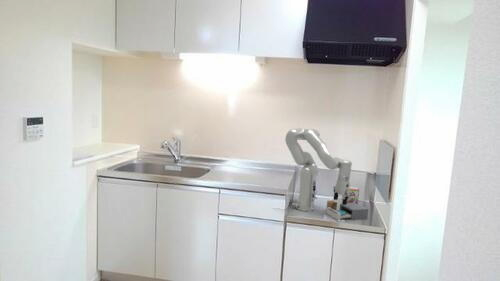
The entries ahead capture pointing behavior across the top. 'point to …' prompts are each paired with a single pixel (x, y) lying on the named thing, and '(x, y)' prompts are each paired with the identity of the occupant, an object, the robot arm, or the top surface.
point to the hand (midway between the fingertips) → (339, 202)
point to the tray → (337, 214)
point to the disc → (341, 212)
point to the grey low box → (355, 211)
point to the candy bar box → (353, 195)
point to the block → (332, 204)
